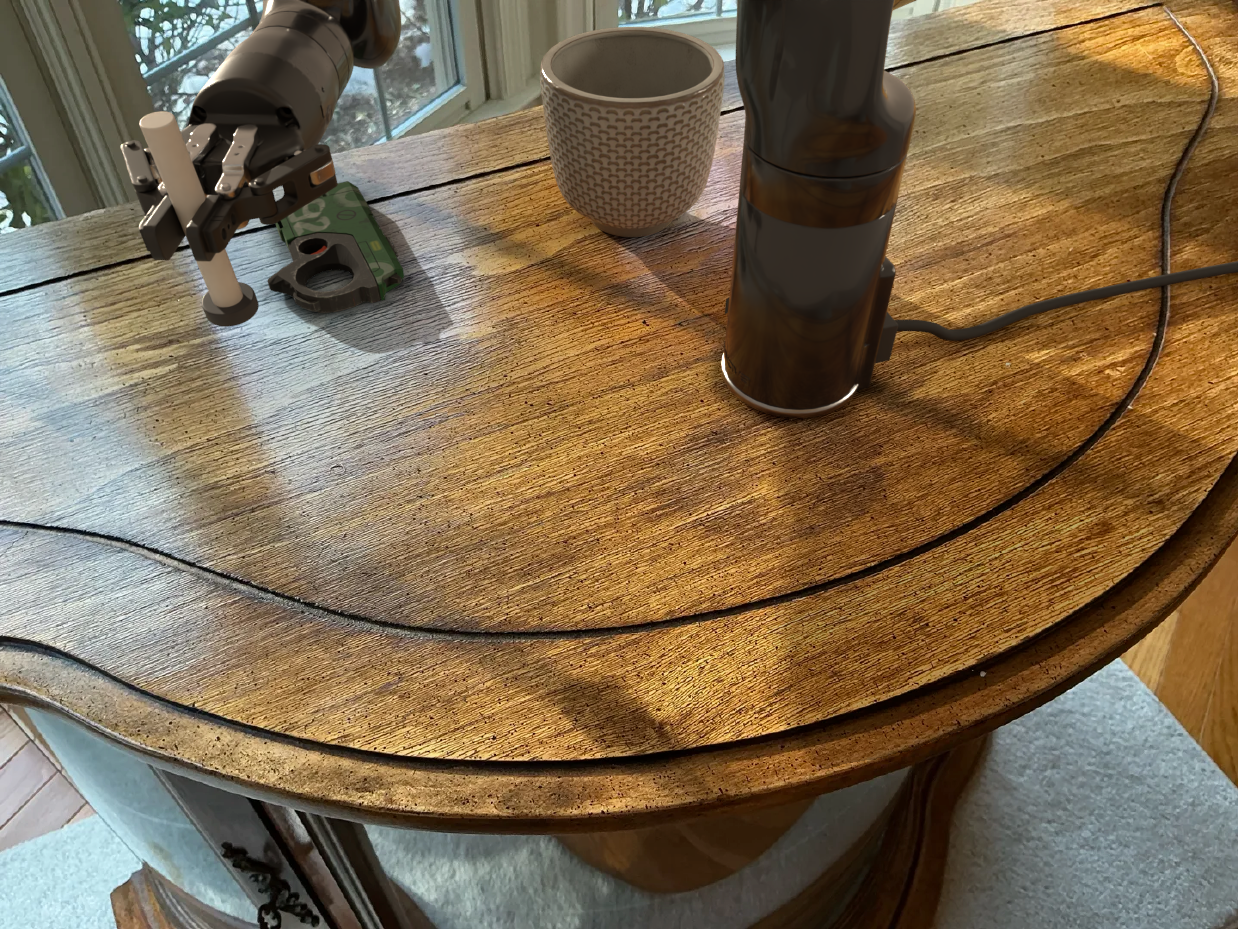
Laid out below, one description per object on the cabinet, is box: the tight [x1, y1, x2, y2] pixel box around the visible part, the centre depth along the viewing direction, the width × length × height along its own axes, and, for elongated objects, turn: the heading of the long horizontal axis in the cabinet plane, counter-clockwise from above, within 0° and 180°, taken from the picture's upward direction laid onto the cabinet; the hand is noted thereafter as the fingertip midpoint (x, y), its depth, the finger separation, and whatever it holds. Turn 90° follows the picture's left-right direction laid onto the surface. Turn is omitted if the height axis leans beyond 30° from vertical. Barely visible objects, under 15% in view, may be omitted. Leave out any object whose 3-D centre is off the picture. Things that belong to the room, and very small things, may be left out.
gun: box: [267, 180, 405, 314], centre depth 78 cm, size 16×1×10 cm
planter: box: [539, 26, 726, 238], centre depth 78 cm, size 14×14×13 cm
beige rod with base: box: [139, 110, 260, 328], centre depth 57 cm, size 3×3×13 cm
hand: (176, 246), depth 54 cm, fingers closed on beige rod with base, 2 cm apart
